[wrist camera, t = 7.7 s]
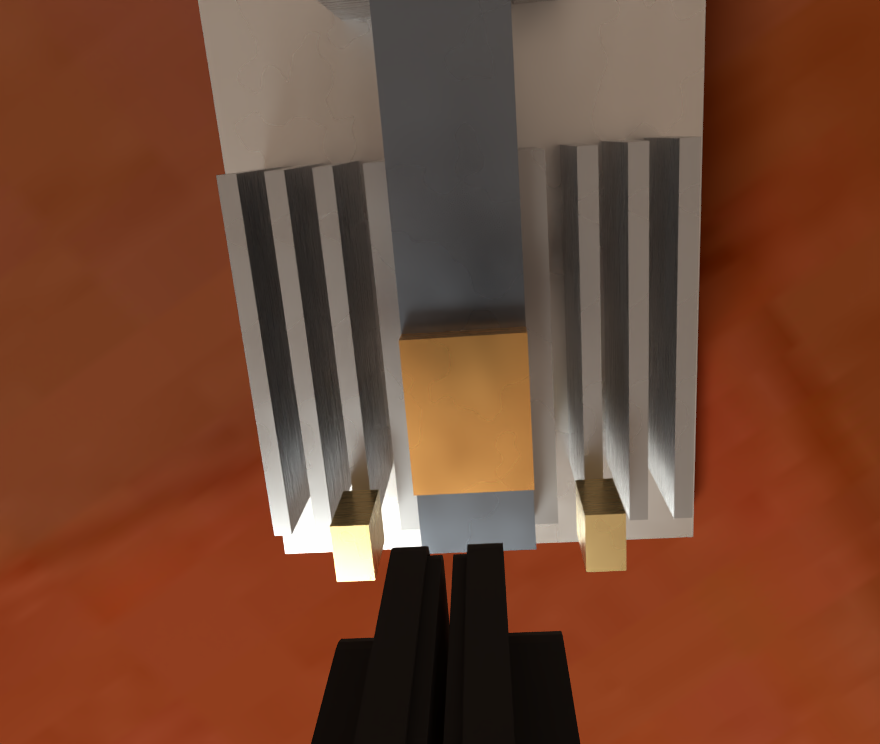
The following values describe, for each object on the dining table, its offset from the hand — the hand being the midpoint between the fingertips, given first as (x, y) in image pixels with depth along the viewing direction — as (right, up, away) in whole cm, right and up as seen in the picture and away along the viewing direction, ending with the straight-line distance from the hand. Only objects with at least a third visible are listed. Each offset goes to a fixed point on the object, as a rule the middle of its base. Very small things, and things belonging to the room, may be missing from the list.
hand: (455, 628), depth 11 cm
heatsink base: (+1, +8, +13) cm, 15 cm away
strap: (0, +7, +8) cm, 11 cm away
